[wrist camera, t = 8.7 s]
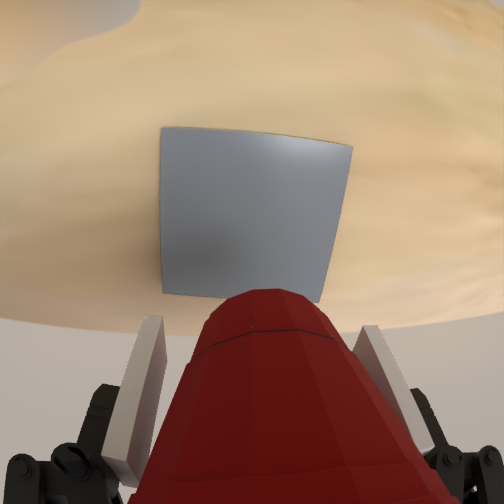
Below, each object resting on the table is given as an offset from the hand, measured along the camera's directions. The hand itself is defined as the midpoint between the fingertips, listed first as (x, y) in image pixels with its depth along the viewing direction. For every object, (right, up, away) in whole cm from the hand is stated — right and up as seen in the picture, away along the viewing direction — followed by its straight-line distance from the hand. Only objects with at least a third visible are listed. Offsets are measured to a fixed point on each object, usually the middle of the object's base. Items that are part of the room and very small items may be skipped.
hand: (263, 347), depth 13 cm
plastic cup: (0, +1, +1) cm, 1 cm away
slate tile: (-1, +7, +13) cm, 15 cm away
